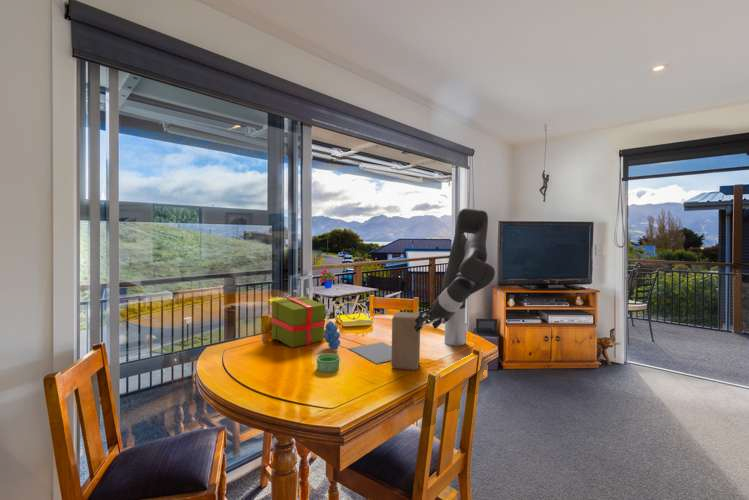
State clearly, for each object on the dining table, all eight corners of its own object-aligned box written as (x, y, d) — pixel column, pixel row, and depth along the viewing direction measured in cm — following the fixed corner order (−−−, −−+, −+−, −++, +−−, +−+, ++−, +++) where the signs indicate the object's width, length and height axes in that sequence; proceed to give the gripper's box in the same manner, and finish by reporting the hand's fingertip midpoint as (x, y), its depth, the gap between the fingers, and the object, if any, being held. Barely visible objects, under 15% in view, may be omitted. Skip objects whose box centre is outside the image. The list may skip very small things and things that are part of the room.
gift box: (323, 348, 174) (294, 333, 192) (332, 304, 175) (302, 294, 192) (285, 349, 160) (258, 333, 177) (295, 302, 160) (267, 290, 178)
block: (417, 371, 138) (418, 318, 137) (391, 369, 140) (391, 316, 139) (419, 362, 147) (420, 312, 147) (394, 360, 149) (395, 311, 149)
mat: (382, 342, 173) (382, 342, 173) (412, 356, 154) (412, 355, 154) (348, 349, 163) (348, 348, 163) (376, 364, 144) (376, 363, 144)
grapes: (317, 347, 165) (317, 320, 164) (330, 344, 169) (330, 318, 168) (329, 354, 155) (330, 326, 155) (343, 351, 159) (344, 324, 159)
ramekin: (320, 374, 133) (320, 362, 133) (312, 366, 141) (313, 355, 141) (343, 370, 138) (343, 359, 137) (334, 363, 146) (334, 352, 145)
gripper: (457, 291, 130) (434, 317, 140) (427, 294, 122) (405, 321, 132) (469, 309, 126) (444, 334, 136) (438, 313, 118) (414, 340, 128)
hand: (425, 328), depth 134 cm, fingers open, 8 cm apart
